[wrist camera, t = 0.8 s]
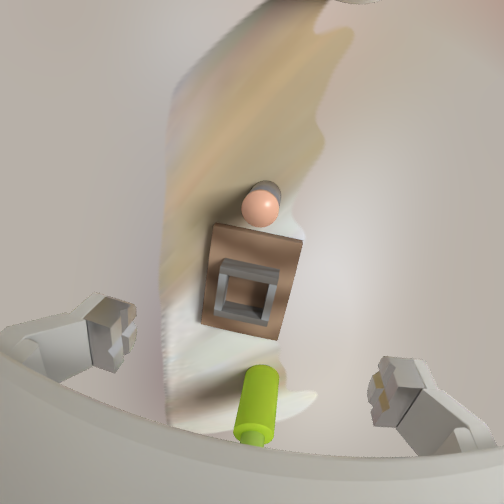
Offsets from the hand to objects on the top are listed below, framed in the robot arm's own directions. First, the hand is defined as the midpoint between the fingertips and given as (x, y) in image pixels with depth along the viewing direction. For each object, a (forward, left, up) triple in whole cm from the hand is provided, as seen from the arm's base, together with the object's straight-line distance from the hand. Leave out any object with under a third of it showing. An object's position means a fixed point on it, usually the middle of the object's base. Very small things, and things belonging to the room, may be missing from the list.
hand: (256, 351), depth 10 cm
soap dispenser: (+33, +3, -34) cm, 47 cm away
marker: (+2, -2, -33) cm, 34 cm away
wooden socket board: (+15, -2, -33) cm, 37 cm away
